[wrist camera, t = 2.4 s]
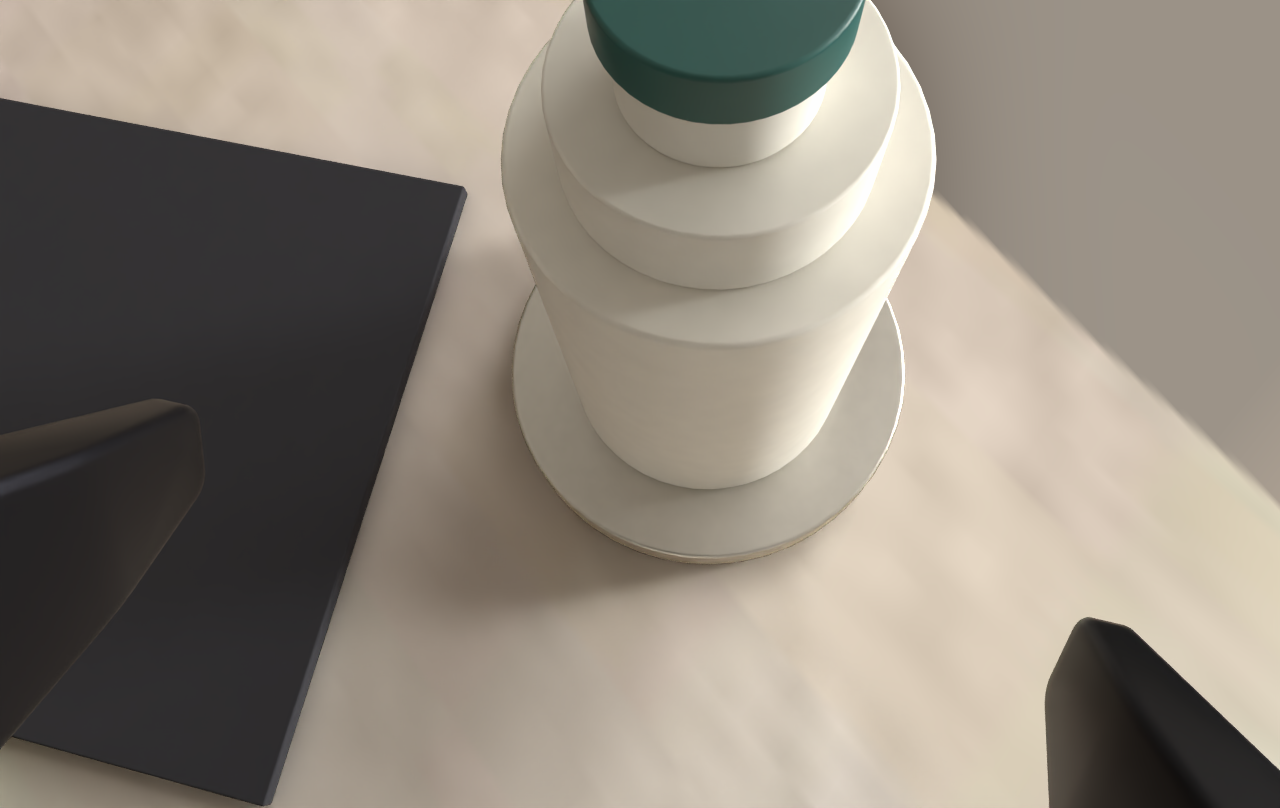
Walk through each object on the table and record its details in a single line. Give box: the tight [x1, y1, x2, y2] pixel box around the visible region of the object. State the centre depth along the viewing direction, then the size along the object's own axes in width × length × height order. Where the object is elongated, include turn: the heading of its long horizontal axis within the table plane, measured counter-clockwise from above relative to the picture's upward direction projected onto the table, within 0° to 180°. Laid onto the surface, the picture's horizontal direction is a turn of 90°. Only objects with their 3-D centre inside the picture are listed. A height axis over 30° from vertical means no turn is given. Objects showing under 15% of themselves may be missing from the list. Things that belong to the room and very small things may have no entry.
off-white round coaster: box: [512, 285, 905, 564], centre depth 22 cm, size 9×9×1 cm
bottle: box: [501, 0, 936, 489], centre depth 16 cm, size 6×6×12 cm
